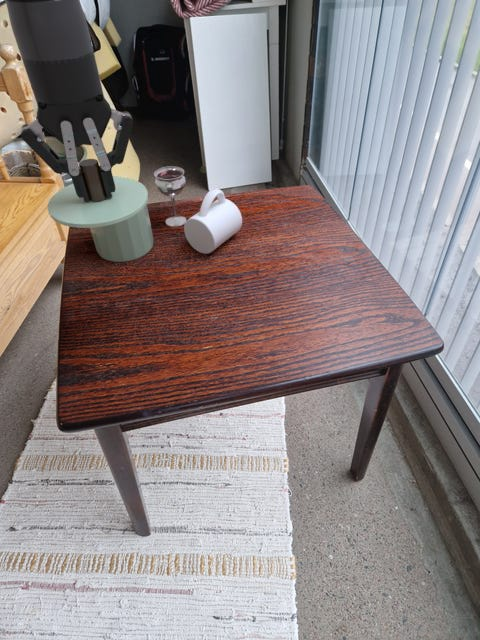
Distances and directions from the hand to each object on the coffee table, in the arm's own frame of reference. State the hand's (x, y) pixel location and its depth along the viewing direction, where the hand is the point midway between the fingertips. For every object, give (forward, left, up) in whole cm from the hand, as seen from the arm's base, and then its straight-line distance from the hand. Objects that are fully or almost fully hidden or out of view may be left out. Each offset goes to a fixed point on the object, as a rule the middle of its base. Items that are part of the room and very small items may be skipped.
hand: (98, 195), depth 57 cm
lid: (0, 0, -1) cm, 1 cm away
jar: (+3, +27, -25) cm, 37 cm away
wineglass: (+16, +33, -25) cm, 44 cm away
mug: (+22, +21, -25) cm, 39 cm away
